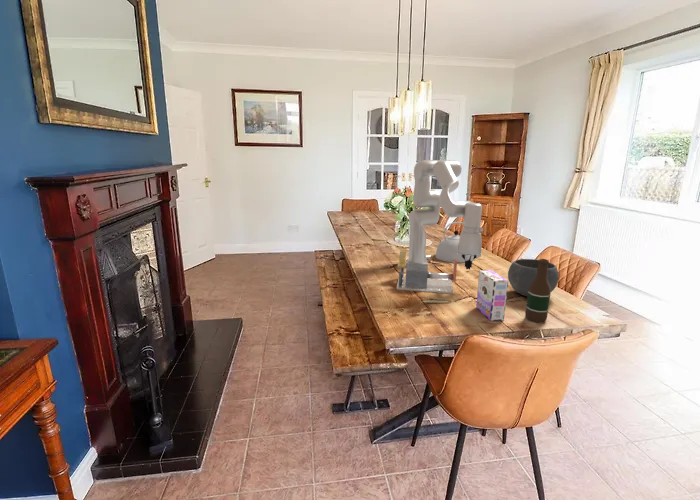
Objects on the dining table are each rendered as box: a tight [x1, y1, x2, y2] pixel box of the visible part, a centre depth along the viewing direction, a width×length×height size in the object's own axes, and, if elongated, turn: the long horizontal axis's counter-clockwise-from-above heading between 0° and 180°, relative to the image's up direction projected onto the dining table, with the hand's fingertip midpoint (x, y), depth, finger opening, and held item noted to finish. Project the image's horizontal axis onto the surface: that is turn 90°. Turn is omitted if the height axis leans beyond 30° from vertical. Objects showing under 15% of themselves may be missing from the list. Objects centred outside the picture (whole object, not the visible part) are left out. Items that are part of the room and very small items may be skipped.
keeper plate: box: [397, 250, 407, 269], centre depth 187 cm, size 4×7×7 cm, turn 169°
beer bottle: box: [524, 258, 552, 324], centre depth 143 cm, size 8×8×24 cm
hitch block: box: [396, 263, 454, 294], centre depth 182 cm, size 26×18×9 cm
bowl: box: [507, 258, 560, 297], centre depth 170 cm, size 20×20×15 cm
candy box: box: [476, 269, 509, 322], centre depth 149 cm, size 14×6×16 cm, turn 5°
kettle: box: [435, 221, 470, 264], centre depth 230 cm, size 25×23×22 cm
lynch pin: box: [427, 259, 458, 284], centre depth 179 cm, size 16×5×11 cm, turn 79°
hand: (467, 268), depth 176 cm, fingers closed
